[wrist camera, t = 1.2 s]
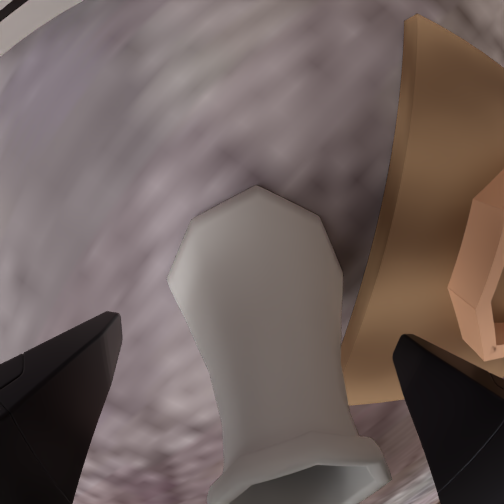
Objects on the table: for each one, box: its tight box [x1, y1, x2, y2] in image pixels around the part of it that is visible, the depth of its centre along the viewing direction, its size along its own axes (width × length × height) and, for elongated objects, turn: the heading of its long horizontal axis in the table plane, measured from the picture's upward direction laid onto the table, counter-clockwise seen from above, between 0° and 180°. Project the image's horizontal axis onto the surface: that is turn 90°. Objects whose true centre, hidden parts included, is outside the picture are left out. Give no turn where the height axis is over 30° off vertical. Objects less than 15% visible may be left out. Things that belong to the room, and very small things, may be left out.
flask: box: [166, 185, 392, 504], centre depth 9 cm, size 7×7×10 cm
